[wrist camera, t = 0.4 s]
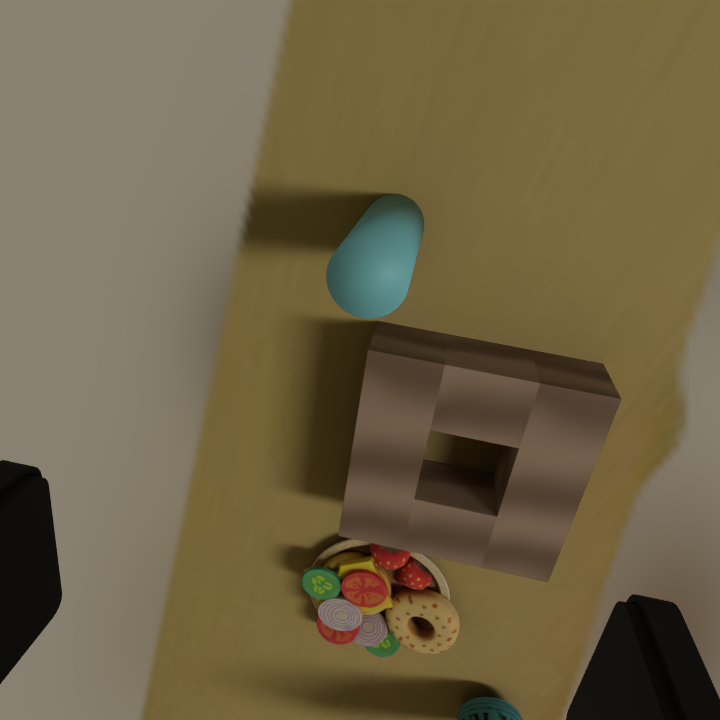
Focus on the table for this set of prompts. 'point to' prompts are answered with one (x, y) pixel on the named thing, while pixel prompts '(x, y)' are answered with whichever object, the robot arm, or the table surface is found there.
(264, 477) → the table surface
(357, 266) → the peg
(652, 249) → the table surface
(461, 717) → the beverage bottle
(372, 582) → the toy food set
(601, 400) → the socket block
